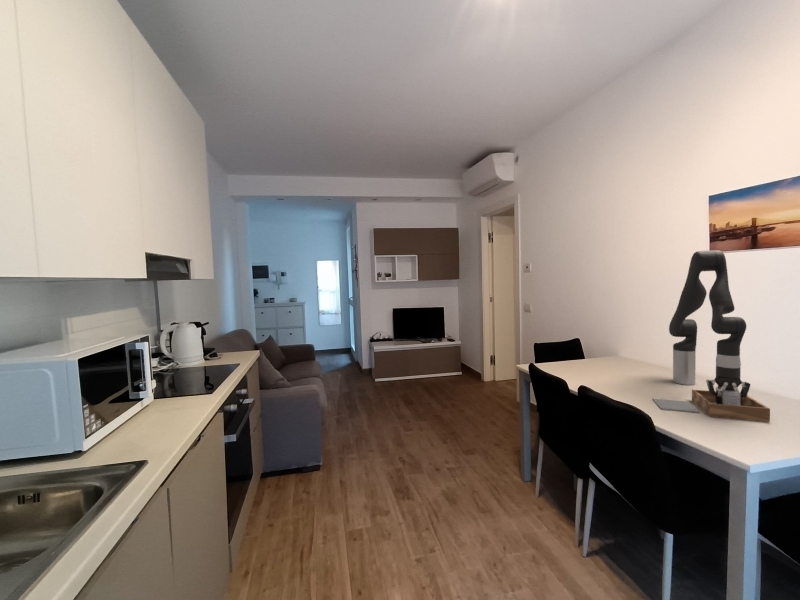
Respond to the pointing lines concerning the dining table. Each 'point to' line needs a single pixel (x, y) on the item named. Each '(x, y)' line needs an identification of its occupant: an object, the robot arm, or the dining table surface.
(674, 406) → the slate mat
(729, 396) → the medicine box
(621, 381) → the dining table surface
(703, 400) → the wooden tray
